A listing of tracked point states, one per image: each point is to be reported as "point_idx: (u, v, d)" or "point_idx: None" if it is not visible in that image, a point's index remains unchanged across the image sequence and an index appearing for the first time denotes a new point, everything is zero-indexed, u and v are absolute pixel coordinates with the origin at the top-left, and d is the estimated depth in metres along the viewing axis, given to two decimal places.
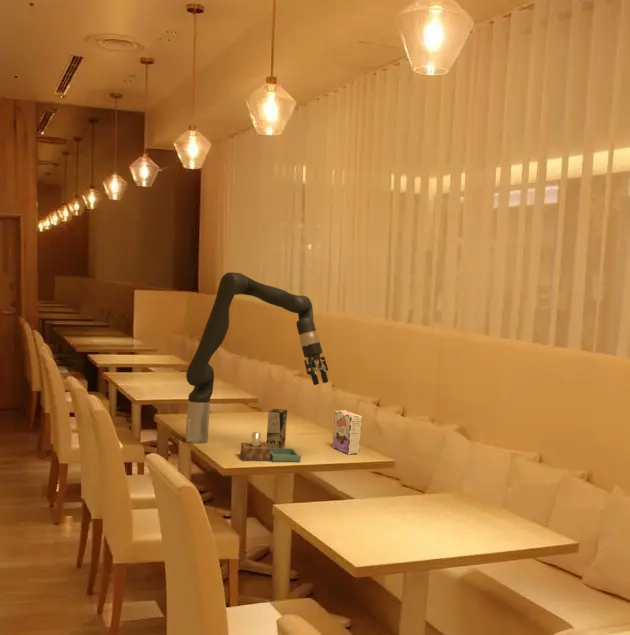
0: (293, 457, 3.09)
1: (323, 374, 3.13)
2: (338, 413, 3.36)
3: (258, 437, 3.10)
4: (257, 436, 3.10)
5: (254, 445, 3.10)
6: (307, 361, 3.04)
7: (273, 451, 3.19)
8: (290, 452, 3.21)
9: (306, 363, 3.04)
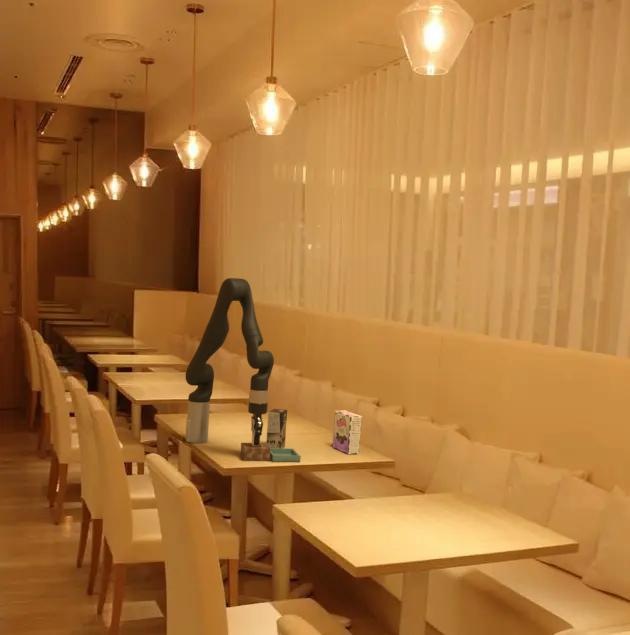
0: (293, 457, 3.09)
1: None
2: (338, 413, 3.36)
3: None
4: None
5: (254, 445, 3.10)
6: (260, 425, 3.05)
7: (273, 451, 3.19)
8: (290, 452, 3.21)
9: (258, 426, 3.05)
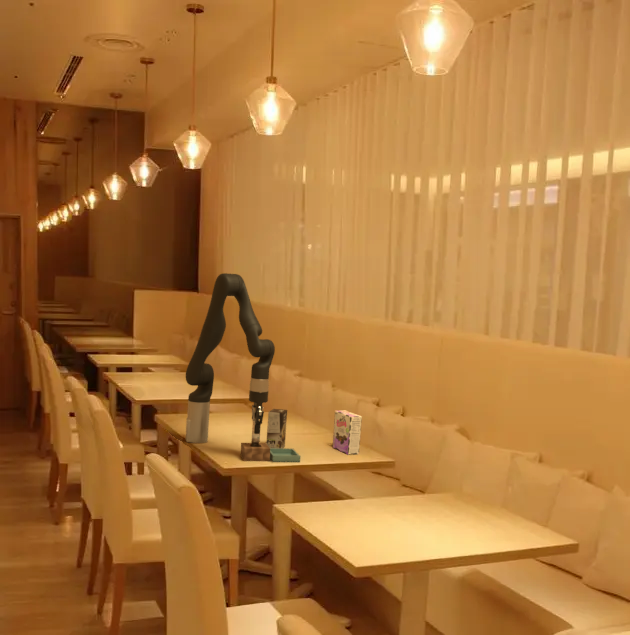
0: (293, 457, 3.09)
1: None
2: (338, 413, 3.36)
3: None
4: None
5: (254, 434, 3.10)
6: (260, 413, 3.04)
7: (273, 451, 3.19)
8: (290, 452, 3.21)
9: (258, 415, 3.05)
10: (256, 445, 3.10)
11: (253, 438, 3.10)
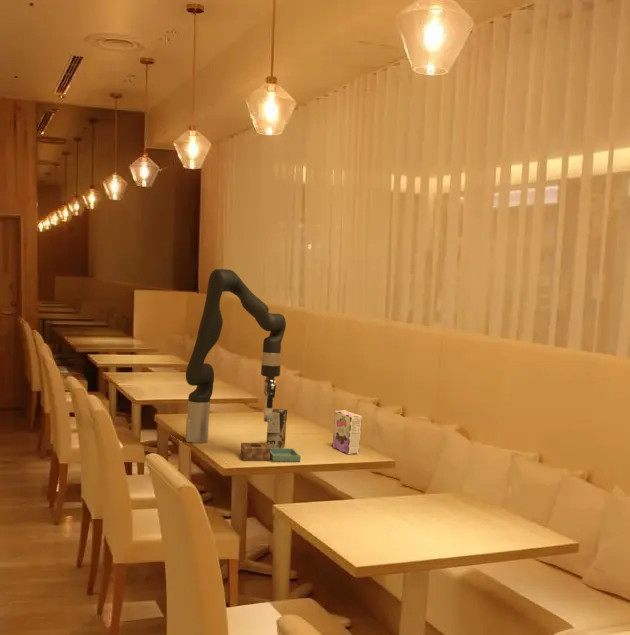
0: (293, 457, 3.09)
1: None
2: (338, 413, 3.36)
3: None
4: None
5: (267, 408, 3.09)
6: (273, 387, 3.04)
7: (273, 451, 3.19)
8: (290, 452, 3.21)
9: (271, 388, 3.05)
10: (269, 419, 3.10)
11: (266, 413, 3.10)
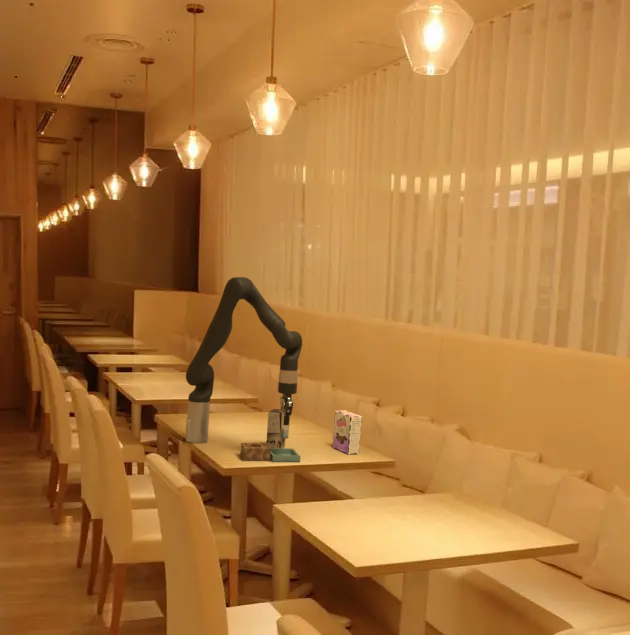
0: (293, 457, 3.09)
1: None
2: (338, 413, 3.36)
3: None
4: None
5: (284, 425, 3.12)
6: (290, 404, 3.07)
7: (273, 451, 3.19)
8: (290, 452, 3.21)
9: (288, 406, 3.07)
10: (285, 436, 3.12)
11: (283, 430, 3.12)
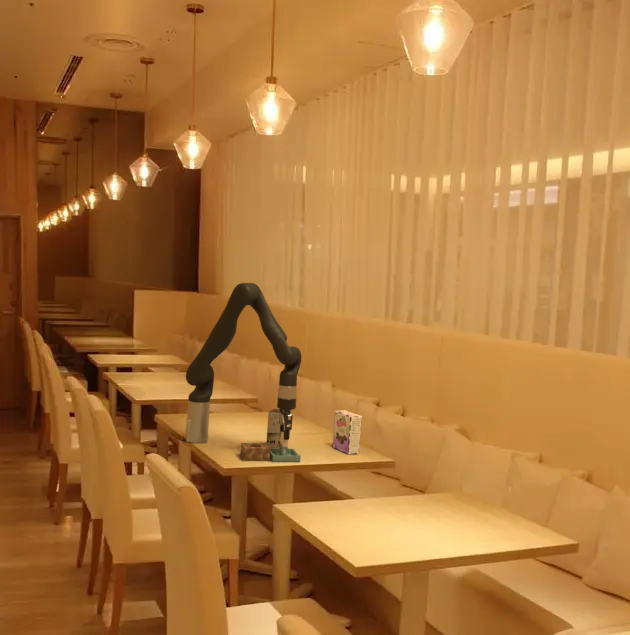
0: (293, 457, 3.09)
1: (283, 427, 3.17)
2: (338, 413, 3.36)
3: None
4: None
5: (283, 444, 3.12)
6: (289, 417, 3.07)
7: (273, 451, 3.19)
8: (290, 452, 3.21)
9: (288, 419, 3.07)
10: None
11: (282, 449, 3.13)
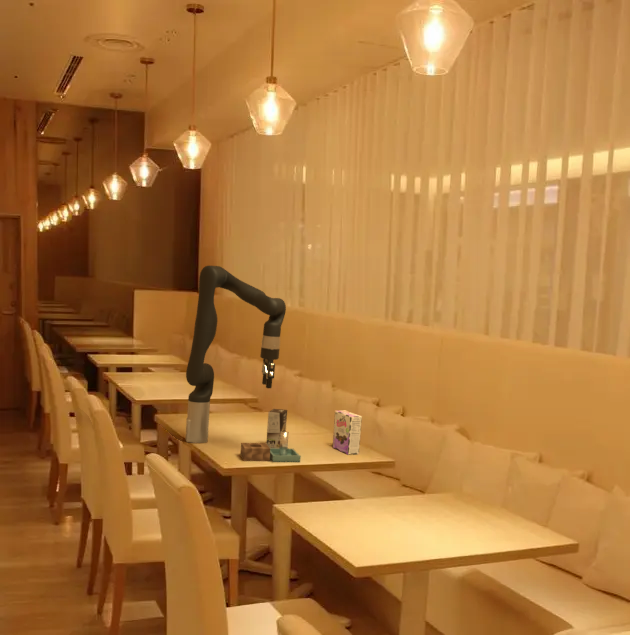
0: (293, 457, 3.09)
1: (265, 376, 3.23)
2: (338, 413, 3.36)
3: (286, 436, 3.13)
4: (286, 435, 3.12)
5: (283, 444, 3.12)
6: (272, 365, 3.12)
7: (273, 451, 3.19)
8: (290, 452, 3.21)
9: (270, 367, 3.12)
10: None
11: (281, 449, 3.13)
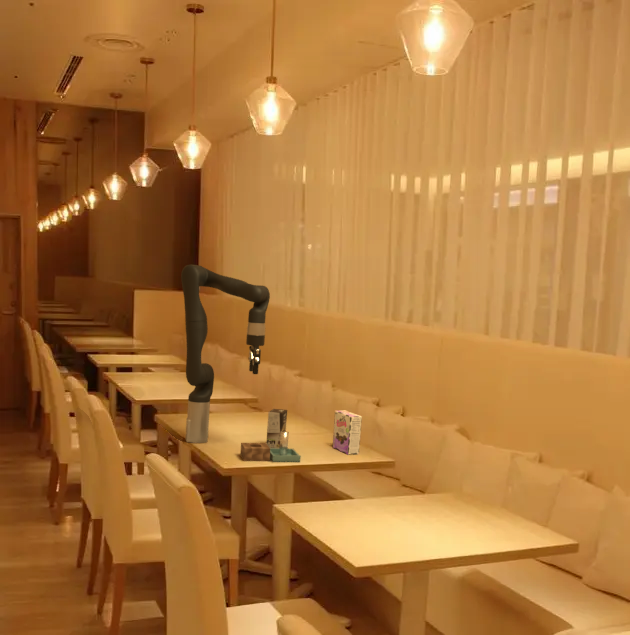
0: (293, 457, 3.09)
1: (252, 363, 3.28)
2: (338, 413, 3.36)
3: (286, 436, 3.13)
4: (286, 435, 3.12)
5: (283, 444, 3.12)
6: (258, 351, 3.17)
7: (273, 451, 3.19)
8: (290, 452, 3.21)
9: (256, 353, 3.17)
10: None
11: (281, 449, 3.13)
